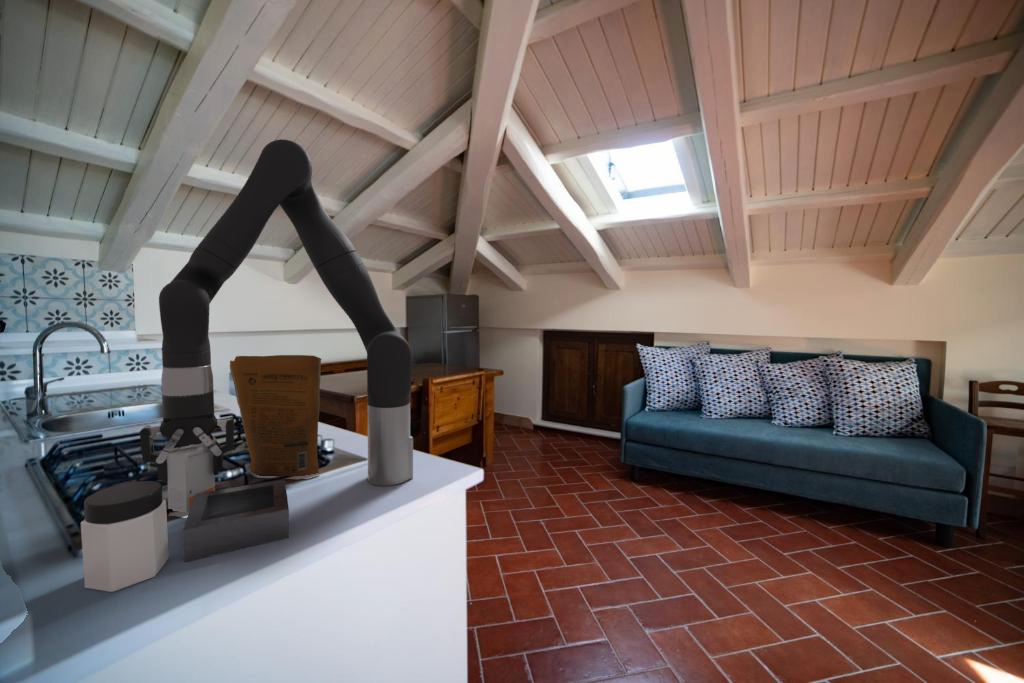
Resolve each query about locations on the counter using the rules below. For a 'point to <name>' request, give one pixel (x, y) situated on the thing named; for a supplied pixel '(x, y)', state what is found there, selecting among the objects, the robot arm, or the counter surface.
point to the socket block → (236, 519)
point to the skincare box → (189, 475)
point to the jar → (124, 535)
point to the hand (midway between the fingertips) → (191, 477)
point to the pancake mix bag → (279, 412)
